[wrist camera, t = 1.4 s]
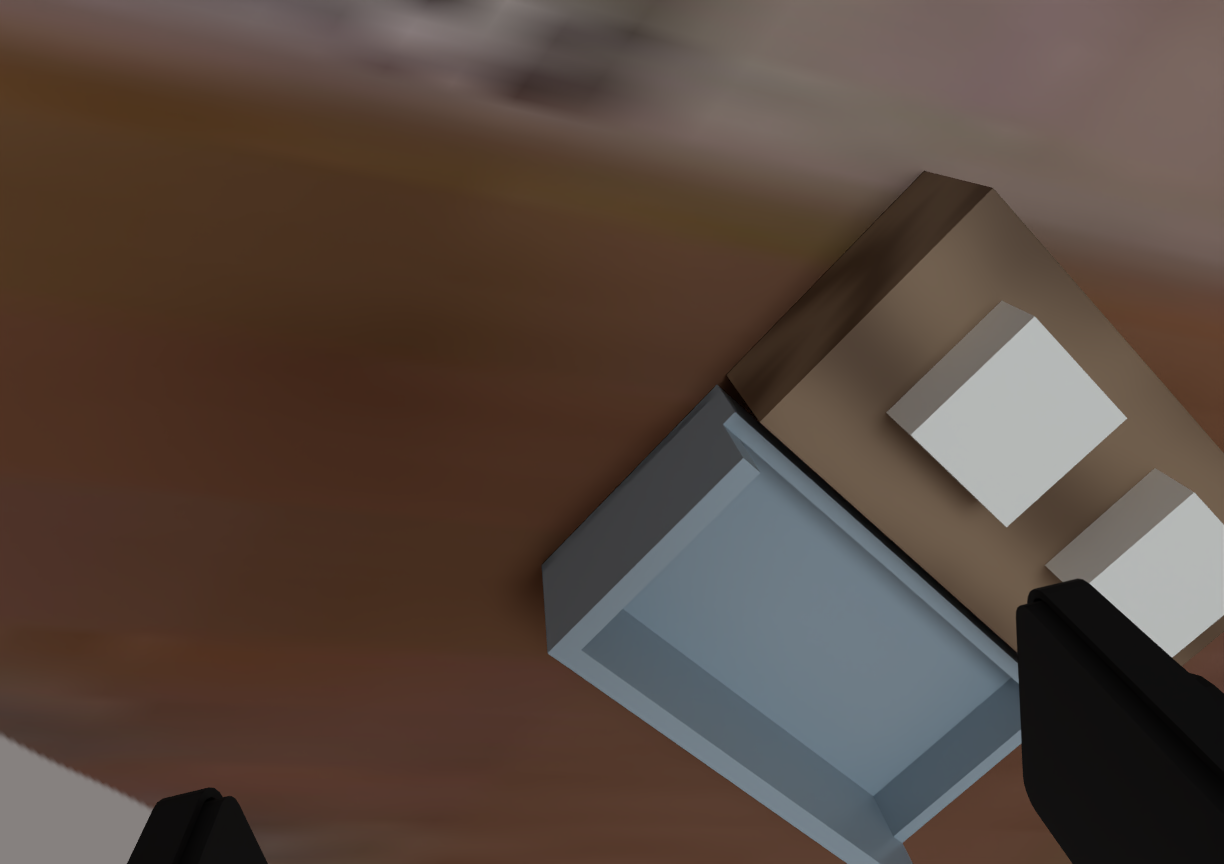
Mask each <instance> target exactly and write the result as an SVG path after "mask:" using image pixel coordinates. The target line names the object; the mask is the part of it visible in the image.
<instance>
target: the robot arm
mask: <svg viewBox="0 0 1224 864" xmlns="http://www.w3.org/2000/svg"><path fill="white" fill-rule="evenodd" d="M1016 635H1017V656H1018V678H1019V699H1020V721H1021V742H1022V764H1023V779H1024V785H1025V788H1026V792H1027V794H1028V797H1029V799H1030V801H1031V803H1032V806H1033V807H1034V809H1035V811H1036V812H1037V814H1038V815H1039V816H1040V818H1041V819H1042V821H1043V822H1044V824H1045V825H1046V826H1047V828H1048V829H1049V831H1050V832H1051V834H1052V835H1053V836H1054V838H1055V839H1056V841H1057V842H1058V844H1059V845H1060V846H1061V848H1062V849H1063V851H1064V852H1065V853H1066V855H1067V856H1068V858H1069V859H1070V861H1071V862H1072V863H1073V864H1224V693H1222V692H1221V691H1220V690H1219V689H1218V688H1217V687H1216V686H1214V685H1213V684H1212V683H1210V682H1209V681H1207V680H1206V679H1205V678H1203V677H1202V676H1198V675H1195V674H1192V673H1189V672H1187V671H1186V670H1185V669H1184V668H1183V667H1182V666H1181V665H1180V664H1178V663H1177V662H1176V661H1175V660H1174V659H1173V658H1172V657H1171V656H1170V655H1168V654H1167V653H1166V652H1165V651H1164V650H1163V649H1162V648H1161V647H1160V646H1158V645H1157V644H1156V643H1155V642H1154V641H1153V640H1152V639H1151V638H1150V637H1148V636H1147V635H1146V634H1145V633H1144V632H1143V631H1142V630H1141V629H1140V628H1138V627H1137V626H1136V625H1135V624H1134V623H1133V622H1132V621H1131V620H1130V619H1128V618H1127V617H1126V616H1125V615H1124V614H1123V613H1122V612H1121V611H1120V610H1118V609H1117V608H1116V607H1115V606H1114V605H1113V604H1112V603H1111V602H1110V601H1108V600H1107V599H1106V598H1105V597H1104V596H1103V595H1102V594H1101V593H1099V592H1098V591H1097V590H1096V589H1095V588H1094V587H1093V586H1092V585H1091V584H1089V583H1088V582H1086V581H1085V580H1083V579H1078V578H1077V579H1073V580H1069V581H1065V582H1061V583H1057V584H1052V585H1048V586H1044V587H1040V588H1036V589H1033V590H1031V591H1030V592H1029V595H1028V598H1027V604H1024V605H1020V606H1019V607H1017V610H1016ZM127 864H268V863H267V861H266V859H265V857H264V855H263V853H262V851H261V849H260V847H259V845H258V843H257V841H256V838H255V836H254V834H253V832H252V830H251V828H250V826H249V824H248V822H247V820H246V818H245V816H244V814H243V812H242V809H241V807H240V805H239V804H238V802H237V800H236V799H235V798H233V797H232V796H227V797H222V795H221V794H220V792H219V791H217V790H216V789H215V788H205V789H201V790H197V791H193V792H188V793H184V794H180V795H176V796H172V797H168V798H163V799H162V800H160V801H159V802H158V803H157V804H156V806H155V807H154V809H153V810H152V812H151V815H150V817H149V819H148V821H147V823H146V825H145V827H144V829H143V831H142V834H141V836H140V838H139V840H138V842H137V844H136V846H135V848H134V850H133V852H132V854H131V857H130V859H129V861H128V863H127Z"/></svg>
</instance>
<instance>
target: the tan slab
mask: <svg viewBox="0 0 1224 864" xmlns="http://www.w3.org/2000/svg"><path fill="white" fill-rule="evenodd" d="M1001 301H1003V302H1005V303H1008V304H1010V305H1012V306H1014V307H1016V308H1018V309H1020V310H1022V311H1025V312H1027V313H1029V314H1031V315H1033V316H1035V317H1036V318H1037V319H1038V320H1039V321H1040V323H1041V324H1042V325H1043V326H1044V327H1045V328H1046V329H1047V330H1048V331H1049V333H1050V334H1051V335H1052V336H1053V337H1054V338H1055V339H1056V340H1057V341H1058V342H1059V344H1060V345H1061V346H1062V347H1063V348H1064V349H1065V350H1066V351H1067V352H1068V353H1069V355H1070V356H1071V357H1072V358H1073V359H1074V360H1075V361H1076V362H1077V363H1078V365H1079V366H1080V367H1081V368H1082V369H1083V370H1084V371H1085V372H1086V373H1087V374H1088V376H1089V377H1090V378H1091V379H1092V380H1093V381H1094V382H1095V383H1096V384H1097V385H1098V387H1099V388H1100V389H1101V390H1102V391H1103V392H1104V393H1105V394H1106V395H1107V397H1108V398H1109V399H1110V400H1111V401H1112V402H1113V403H1114V404H1115V405H1116V406H1117V408H1118V409H1119V410H1120V411H1121V412H1122V413H1123V414H1124V415H1125V416H1126V417H1127V419H1126V420H1125V421H1124V422H1123V423H1122V424H1120V425H1119V426H1118V427H1117V428H1116V429H1115V430H1114V431H1113V432H1112V433H1111V434H1109V435H1108V436H1107V437H1106V438H1105V439H1104V440H1103V441H1102V442H1101V443H1099V444H1098V445H1097V446H1096V447H1095V448H1094V449H1093V450H1092V451H1091V452H1089V453H1088V454H1087V455H1086V456H1085V457H1084V458H1083V459H1082V460H1081V461H1080V462H1078V463H1077V464H1076V465H1075V466H1074V467H1073V468H1072V469H1071V470H1070V471H1068V472H1067V473H1066V474H1065V475H1064V476H1063V477H1062V478H1061V479H1060V480H1058V481H1057V482H1056V483H1055V484H1054V485H1053V486H1052V487H1051V488H1050V489H1048V490H1047V491H1046V492H1045V493H1044V494H1043V495H1042V496H1041V497H1040V498H1039V499H1037V500H1036V501H1035V502H1034V503H1033V504H1032V505H1031V506H1030V507H1029V508H1027V509H1026V510H1025V511H1024V512H1023V513H1022V514H1021V515H1020V516H1019V517H1017V518H1016V519H1015V520H1014V521H1013V522H1012V523H1011V524H1010V525H1009V526H1008V527H1006V526H1005V525H1003V524H1002V523H1001V522H1000V521H999V520H998V519H997V518H996V517H995V516H994V515H993V514H992V513H990V512H989V511H988V510H987V509H986V508H985V507H984V506H983V505H982V504H981V503H980V502H979V501H977V500H976V499H975V498H974V497H973V496H972V495H971V494H970V493H969V492H968V491H967V490H966V489H965V488H964V487H963V486H962V485H961V484H960V483H959V482H958V481H957V480H956V479H955V478H954V477H952V476H951V475H950V474H949V473H948V472H947V471H946V470H945V469H944V468H943V467H942V466H941V465H940V464H939V463H938V462H937V461H936V460H935V459H934V458H933V457H932V456H931V455H930V454H929V453H928V452H926V451H925V450H924V449H923V448H922V447H921V446H920V445H919V444H918V443H917V442H916V441H915V440H914V439H913V438H912V437H911V436H910V435H909V434H908V433H907V432H906V431H905V430H904V429H903V428H902V427H900V426H899V425H898V424H897V423H896V422H895V421H894V420H893V419H892V418H891V417H890V416H889V415H888V414H887V413H886V412H887V411H888V410H889V409H891V408H892V407H893V406H894V405H895V404H896V403H897V402H898V401H899V400H900V399H901V398H902V397H903V396H904V395H905V394H906V393H907V392H908V391H909V390H910V389H911V388H912V387H913V386H914V385H915V384H916V383H917V382H918V381H919V380H920V379H921V378H923V377H924V376H925V375H926V374H927V373H928V372H929V371H930V370H931V369H932V368H933V367H934V366H935V365H936V364H937V363H938V362H939V361H940V360H941V359H942V358H943V357H944V356H945V355H946V354H947V353H948V352H949V351H950V350H951V349H952V348H953V347H954V346H956V345H957V344H958V343H959V342H960V341H961V340H962V339H963V338H964V337H965V336H966V335H967V334H968V333H969V332H970V331H971V330H972V329H973V328H974V327H975V326H976V325H977V324H978V323H979V322H980V321H981V320H982V319H983V318H984V317H985V316H986V315H987V314H989V313H990V312H991V311H992V310H993V309H994V308H995V307H996V306H997V305H998V304H999V303H1000V302H1001ZM727 377H728V378H729V380H730V381H731V382H732V384H733V385H734V387H735V388H736V389H737V391H738V392H739V394H740V395H741V396H742V398H743V399H744V401H745V402H746V403H747V405H748V406H749V408H750V409H751V410H752V412H753V413H754V415H755V416H756V417H757V419H758V420H759V422H760V423H761V424H762V425H764V426H765V427H766V428H767V429H768V430H769V431H770V432H771V433H773V434H774V435H775V436H776V437H777V438H778V439H779V440H780V441H781V442H783V443H784V444H785V445H786V446H787V447H788V448H789V449H790V450H792V451H793V452H794V453H795V454H796V455H797V456H798V457H799V458H800V459H802V460H803V461H804V462H805V463H806V464H807V465H808V466H809V467H811V468H812V469H813V470H814V471H815V472H816V473H817V474H818V475H819V476H821V477H822V478H823V479H824V480H825V481H826V482H827V483H828V484H830V485H831V486H832V487H833V488H834V489H835V490H836V491H837V492H838V493H840V494H841V495H842V496H843V497H844V498H845V499H846V500H847V501H848V502H850V503H851V504H852V505H853V506H854V507H855V508H856V509H857V510H859V511H860V512H861V513H862V514H863V515H864V516H865V517H866V518H867V519H869V520H870V521H871V522H872V523H873V524H874V525H875V526H876V527H878V528H879V529H880V530H881V531H882V532H883V533H884V534H885V535H886V536H888V537H889V538H890V539H891V540H892V541H893V542H894V543H895V544H897V545H898V546H899V547H900V548H901V549H902V550H903V551H904V552H905V553H907V554H908V555H909V556H910V557H911V558H912V559H913V560H914V561H916V562H917V563H918V564H919V565H920V566H921V567H922V568H923V569H924V570H926V571H927V572H928V573H929V574H930V575H931V576H932V577H933V578H935V579H936V580H937V581H938V582H939V583H940V584H941V585H942V586H943V587H945V588H946V589H947V590H948V591H949V592H950V593H951V594H952V595H954V596H955V597H956V598H957V599H958V600H959V601H960V602H961V603H962V604H964V605H965V606H966V607H967V608H968V609H969V610H970V611H971V612H972V613H974V614H975V615H976V616H977V617H978V618H979V619H980V620H981V621H983V622H984V623H985V624H986V625H987V626H988V627H989V628H990V629H991V630H993V631H994V632H995V633H996V634H997V635H998V636H999V637H1000V638H1002V639H1003V640H1004V641H1005V642H1006V643H1007V644H1008V645H1009V646H1010V647H1012V648H1013V649H1014V650H1015V651H1016V652H1017V635H1016V610H1017V607H1019V606H1020V605H1024V604H1027V598H1028V595H1029V592H1030V591H1031V590H1033V589H1036V588H1040V587H1044V586H1048V585H1052V584H1057V583H1061V582H1062V581H1061V580H1060V579H1059V578H1057V577H1056V576H1055V575H1054V574H1053V573H1052V572H1051V571H1050V570H1049V569H1048V568H1047V567H1046V566H1045V565H1046V564H1047V563H1048V562H1049V561H1050V560H1051V559H1052V558H1054V557H1055V556H1056V555H1057V554H1058V553H1059V552H1060V551H1062V550H1063V549H1064V548H1065V547H1066V546H1067V545H1068V544H1069V543H1071V542H1072V541H1073V540H1074V539H1075V538H1076V537H1077V536H1079V535H1080V534H1081V533H1082V532H1083V531H1084V530H1085V529H1086V528H1088V527H1089V526H1090V525H1091V524H1092V523H1093V522H1094V521H1096V520H1097V519H1098V518H1099V517H1100V516H1101V515H1102V514H1103V513H1105V512H1106V511H1107V510H1108V509H1109V508H1110V507H1111V506H1113V505H1114V504H1115V503H1116V502H1117V501H1118V500H1119V499H1120V498H1122V497H1123V496H1124V495H1125V494H1126V493H1127V492H1128V491H1130V490H1131V489H1132V488H1133V487H1134V486H1135V485H1136V484H1137V483H1139V482H1140V481H1141V480H1142V479H1143V478H1144V477H1145V476H1147V475H1148V474H1149V473H1150V472H1151V471H1152V470H1153V469H1154V468H1156V469H1157V470H1159V471H1161V472H1162V473H1164V474H1165V475H1167V476H1169V477H1170V478H1172V479H1174V480H1175V481H1177V482H1178V483H1180V484H1182V485H1183V486H1185V487H1187V488H1188V489H1190V490H1191V491H1193V492H1194V493H1195V494H1196V495H1197V496H1198V497H1199V498H1200V499H1201V500H1202V501H1203V502H1204V504H1205V505H1206V506H1207V507H1208V508H1209V509H1210V510H1211V511H1212V512H1213V513H1214V515H1215V516H1216V517H1217V518H1218V519H1219V520H1220V521H1221V522H1222V523H1223V525H1224V453H1223V452H1222V451H1221V450H1220V449H1219V447H1218V446H1217V445H1216V444H1215V443H1214V442H1213V441H1212V439H1211V438H1210V437H1209V436H1208V435H1207V434H1206V433H1205V431H1204V430H1203V429H1202V428H1201V427H1200V426H1199V424H1198V423H1197V422H1196V421H1195V420H1194V419H1193V418H1192V416H1191V415H1190V414H1189V413H1188V412H1187V411H1186V410H1185V408H1184V407H1183V406H1182V405H1181V404H1180V403H1179V401H1178V400H1177V399H1176V398H1175V397H1174V396H1173V395H1172V393H1171V392H1170V391H1169V390H1168V389H1167V388H1166V386H1165V385H1164V384H1163V383H1162V382H1161V381H1160V380H1159V378H1158V377H1157V376H1156V375H1155V374H1154V373H1153V372H1152V370H1151V369H1150V368H1149V367H1148V366H1147V365H1146V363H1145V362H1144V361H1143V360H1142V359H1141V358H1140V357H1139V355H1138V354H1137V353H1136V352H1135V351H1134V350H1133V349H1132V347H1131V346H1130V345H1129V344H1128V343H1127V342H1126V340H1125V339H1124V338H1123V337H1122V336H1121V335H1120V334H1119V332H1118V331H1117V330H1116V329H1115V328H1114V327H1113V325H1112V324H1111V323H1110V322H1109V321H1108V320H1107V319H1106V317H1105V316H1104V315H1103V314H1102V313H1101V312H1100V311H1099V309H1098V308H1097V307H1096V306H1095V305H1094V304H1093V302H1092V301H1091V300H1090V299H1089V298H1088V297H1087V296H1086V294H1085V293H1084V292H1083V291H1082V290H1081V289H1080V288H1079V286H1078V285H1077V284H1076V283H1075V282H1074V281H1073V279H1072V278H1071V277H1070V276H1069V275H1068V274H1067V273H1066V271H1065V270H1064V269H1063V268H1062V267H1061V266H1060V264H1059V263H1058V262H1057V261H1056V260H1055V259H1054V258H1053V256H1052V255H1051V254H1050V253H1049V252H1048V251H1047V250H1046V248H1045V247H1044V246H1043V245H1042V244H1041V243H1040V241H1039V240H1038V239H1037V238H1036V237H1035V236H1034V235H1033V233H1032V232H1031V231H1030V230H1029V229H1028V228H1027V227H1026V225H1025V224H1024V223H1023V222H1022V221H1021V220H1020V218H1019V217H1018V216H1017V215H1016V214H1015V213H1014V212H1013V210H1012V209H1011V208H1010V207H1009V206H1008V205H1007V203H1006V202H1005V201H1004V200H1003V199H1002V198H1001V197H1000V195H999V194H998V193H997V192H996V191H995V190H994V189H993V188H991V187H987V186H983V185H979V184H975V183H971V182H967V181H963V180H959V179H955V178H951V177H947V176H942V175H938V174H934V173H930V172H926V171H924V172H923V173H922V174H921V175H920V176H919V177H918V178H917V179H916V180H915V181H914V182H913V183H912V184H911V185H910V186H909V187H908V188H907V189H906V190H905V192H904V193H903V194H902V195H901V196H900V197H899V198H898V199H897V200H896V201H895V202H894V203H893V204H892V205H891V206H890V207H889V208H888V209H887V210H886V211H885V212H884V213H883V214H882V215H881V216H880V217H879V218H878V219H877V220H876V221H875V222H874V223H873V224H872V225H871V227H870V228H869V229H868V230H867V231H866V232H865V233H864V234H863V235H862V236H861V237H860V238H859V239H858V240H857V241H856V242H855V243H854V244H853V245H852V246H851V247H850V248H849V249H848V250H847V251H846V252H845V253H844V254H843V255H842V256H841V257H840V258H839V259H838V261H837V262H836V263H835V264H834V265H833V266H832V267H831V268H830V269H829V270H828V271H827V272H826V273H825V274H824V275H823V276H822V277H821V278H820V279H819V280H818V281H817V282H816V283H815V284H814V285H813V286H812V287H811V288H810V289H809V290H808V291H807V292H806V293H805V294H804V296H803V297H802V298H801V299H800V300H799V301H798V302H797V303H796V304H795V305H794V306H793V307H792V308H791V309H790V310H789V311H788V312H787V313H786V314H785V315H784V316H783V317H782V318H781V319H780V320H779V321H778V322H777V323H776V324H775V325H774V326H773V327H772V328H771V329H770V331H769V332H768V333H767V334H766V335H765V336H764V337H763V338H762V339H761V340H760V341H759V342H758V343H757V344H756V345H755V346H754V347H753V348H752V349H751V350H750V351H749V352H748V353H747V354H746V355H745V356H744V357H743V358H742V359H741V360H740V361H739V362H738V363H737V364H736V366H735V367H734V368H733V369H732V370H731V371H730V372H729V373H728V374H727ZM1223 632H1224V615H1223V616H1222V617H1221V618H1220V619H1218V620H1217V621H1216V622H1215V623H1214V624H1212V625H1211V626H1210V627H1209V628H1207V629H1206V630H1205V631H1204V632H1203V633H1201V634H1200V635H1199V636H1198V637H1197V638H1195V639H1194V640H1193V641H1192V642H1191V643H1189V644H1188V645H1187V646H1186V647H1184V648H1183V649H1182V650H1181V651H1180V652H1178V653H1177V654H1176V655H1175V656H1174V657H1172V658H1173V659H1174V660H1175V661H1176V662H1177V663H1178V664H1180V665H1181V666H1182V665H1184V664H1185V663H1186V662H1187V661H1189V660H1190V659H1191V658H1192V657H1193V656H1195V655H1196V654H1197V653H1198V652H1200V651H1201V650H1202V649H1203V648H1204V647H1206V646H1207V645H1208V644H1209V643H1210V642H1212V641H1213V640H1214V639H1215V638H1217V637H1218V636H1219V635H1220V634H1221V633H1223Z"/></svg>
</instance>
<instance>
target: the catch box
mask: <svg viewBox="0 0 1224 864" xmlns="http://www.w3.org/2000/svg"><path fill="white" fill-rule="evenodd" d="M542 577H543V591H544V606H545V621H546V636H547V650H548V654H550V655H551V656H552V657H554V658H555V659H557V660H558V661H560V662H561V663H562V664H564V665H565V666H567V667H568V668H570V669H571V670H572V671H574V672H575V673H577V674H578V675H580V676H581V677H582V678H584V679H585V680H587V681H588V682H590V683H591V684H592V685H594V686H595V687H597V688H598V689H600V690H601V691H602V692H604V693H605V694H607V695H608V696H609V697H611V698H612V699H614V700H615V701H617V702H618V703H619V704H621V705H622V706H624V707H625V708H627V709H628V710H629V711H631V712H632V713H634V714H635V715H637V716H638V717H639V718H641V719H642V720H644V721H645V722H647V723H648V724H649V725H651V726H652V727H654V728H655V729H657V730H658V731H659V732H661V733H662V734H664V735H665V736H666V737H668V738H669V739H671V740H672V741H674V742H675V743H676V744H678V745H679V746H681V747H682V748H684V749H685V750H686V751H688V752H689V753H691V754H692V755H694V756H695V757H696V758H698V759H699V760H701V761H702V762H704V763H705V764H706V765H708V766H709V767H711V768H712V769H714V770H715V771H716V772H718V773H719V774H721V775H722V776H723V777H725V778H726V779H728V780H729V781H731V782H732V783H733V784H735V785H736V786H738V787H739V788H741V789H742V790H743V791H745V792H746V793H748V794H749V795H751V796H752V797H753V798H755V799H756V800H758V801H759V802H761V803H762V804H763V805H765V806H766V807H768V808H769V809H771V810H772V811H773V812H775V813H776V814H778V815H779V816H780V817H782V818H783V819H785V820H786V821H788V822H789V823H790V824H792V825H793V826H795V827H796V828H798V829H799V830H800V831H802V832H803V833H805V834H806V835H808V836H809V837H810V838H812V839H813V840H815V841H816V842H818V843H819V844H820V845H822V846H823V847H825V848H826V849H828V850H829V851H830V852H832V853H833V854H835V855H836V856H837V857H839V858H840V859H842V860H843V861H845V862H846V863H847V864H913V863H912V861H911V859H910V857H909V855H908V853H907V851H906V849H905V847H904V845H903V844H902V843H903V842H904V841H905V840H906V839H907V838H909V837H910V836H911V835H912V834H913V833H915V832H916V831H917V830H918V829H919V828H921V827H922V826H923V825H924V824H925V823H927V822H928V821H929V820H930V819H931V818H933V817H934V816H935V815H936V814H937V813H939V812H940V811H941V810H942V809H943V808H944V807H946V806H947V805H948V804H949V803H950V802H952V801H953V800H954V799H955V798H956V797H958V796H959V795H960V794H961V793H962V792H964V791H965V790H966V789H967V788H968V787H970V786H971V785H972V784H973V783H974V782H976V781H977V780H978V779H979V778H980V777H982V776H983V775H984V774H985V773H986V772H987V771H989V770H990V769H991V768H992V767H993V766H995V765H996V764H997V763H998V762H999V761H1001V760H1002V759H1003V758H1004V757H1005V756H1007V755H1008V754H1009V753H1010V752H1011V751H1013V750H1014V749H1015V748H1016V747H1017V746H1019V745H1020V744H1021V743H1022V742H1021V721H1020V699H1019V678H1018V656H1017V653H1016V652H1015V651H1014V650H1013V649H1012V648H1011V647H1010V646H1009V645H1007V644H1006V643H1005V642H1004V641H1003V640H1002V639H1001V638H1000V637H999V636H997V635H996V634H995V633H994V632H993V631H992V630H991V629H990V628H988V627H987V626H986V625H985V624H984V623H983V622H982V621H981V620H980V619H978V618H977V617H976V616H975V615H974V614H973V613H972V612H971V611H969V610H968V609H967V608H966V607H965V606H964V605H963V604H962V603H961V602H959V601H958V600H957V599H956V598H955V597H954V596H953V595H952V594H950V593H949V592H948V591H947V590H946V589H945V588H944V587H943V586H942V585H940V584H939V583H938V582H937V581H936V580H935V579H934V578H933V577H931V576H930V575H929V574H928V573H927V572H926V571H925V570H924V569H923V568H921V567H920V566H919V565H918V564H917V563H916V562H915V561H914V560H912V559H911V558H910V557H909V556H908V555H907V554H906V553H905V552H904V551H902V550H901V549H900V548H899V547H898V546H897V545H896V544H895V543H893V542H892V541H891V540H890V539H889V538H888V537H887V536H886V535H885V534H883V533H882V532H881V531H880V530H879V529H878V528H877V527H876V526H874V525H873V524H872V523H871V522H870V521H869V520H868V519H867V518H866V517H864V516H863V515H862V514H861V513H860V512H859V511H858V510H857V509H855V508H854V507H853V506H852V505H851V504H850V503H849V502H848V501H847V500H845V499H844V498H843V497H842V496H841V495H840V494H839V493H838V492H836V491H835V490H834V489H833V488H832V487H831V486H830V485H829V484H828V483H826V482H825V481H824V480H823V479H822V478H821V477H820V476H819V475H817V474H816V473H815V472H814V471H813V470H812V469H811V468H810V467H809V466H807V465H806V464H805V463H804V462H803V461H802V460H801V459H800V458H798V457H797V456H796V455H795V454H794V453H793V452H792V451H791V450H790V449H788V448H787V447H786V446H785V445H784V444H783V443H782V442H781V441H779V440H778V439H777V438H776V437H775V436H774V435H773V434H772V433H771V432H769V431H768V430H767V429H766V428H765V427H764V426H763V425H762V424H760V423H759V422H758V421H757V420H756V419H755V418H754V417H753V416H752V415H750V414H749V413H748V412H747V411H746V410H745V409H744V408H743V407H741V406H740V405H739V404H738V403H737V402H736V401H735V400H734V399H733V398H731V397H730V396H729V395H728V394H727V393H726V392H725V391H724V390H722V389H721V388H720V387H719V386H718V385H716V386H715V387H714V388H713V389H712V390H711V391H710V392H709V393H708V394H707V395H706V396H705V397H704V398H703V399H702V401H701V402H700V403H699V404H698V405H697V406H696V407H695V408H694V409H693V410H692V411H691V412H690V413H689V414H688V415H687V416H686V417H685V418H684V419H683V420H682V421H681V422H680V423H679V424H678V425H677V426H676V427H675V428H674V429H673V430H672V431H671V432H670V433H669V435H668V436H667V437H666V438H665V439H664V440H663V441H662V442H661V443H660V444H659V445H658V446H657V447H656V448H655V449H654V450H653V451H652V452H651V453H650V454H649V455H648V456H647V457H646V458H645V459H644V460H643V461H642V462H641V463H640V464H639V465H638V466H637V467H636V468H635V470H634V471H633V472H632V473H631V474H630V475H629V476H628V477H627V478H626V479H625V480H624V481H623V482H622V483H621V484H620V485H619V486H618V487H617V488H616V489H615V490H614V491H613V492H612V493H611V494H610V495H609V496H608V497H607V498H606V499H605V500H604V501H603V502H602V503H601V505H600V506H599V507H598V508H597V509H596V510H595V511H594V512H593V513H592V514H591V515H590V516H589V517H588V518H587V519H586V520H585V521H584V522H583V523H582V524H581V525H580V526H579V527H578V528H577V529H576V530H575V531H574V532H573V533H572V534H571V535H570V536H569V537H568V538H567V540H566V541H565V542H564V543H563V544H562V545H561V546H560V547H559V548H558V549H557V550H556V551H555V552H554V553H553V554H552V555H551V556H550V557H549V558H548V559H547V560H546V561H545V562H544V563H543V564H542Z"/></svg>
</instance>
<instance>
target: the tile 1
mask: <svg viewBox="0 0 1224 864" xmlns="http://www.w3.org/2000/svg"><path fill="white" fill-rule="evenodd" d="M886 413H887V414H888V415H889V416H890V417H891V418H892V419H893V420H894V421H895V422H896V423H897V424H898V425H899V426H900V427H902V428H903V429H904V430H905V431H906V432H907V433H908V434H909V435H910V436H911V437H912V438H913V439H914V440H915V441H916V442H917V443H918V444H919V445H920V446H921V447H922V448H923V449H924V450H925V451H926V452H928V453H929V454H930V455H931V456H932V457H933V458H934V459H935V460H936V461H937V462H938V463H939V464H940V465H941V466H942V467H943V468H944V469H945V470H946V471H947V472H948V473H949V474H950V475H951V476H952V477H954V478H955V479H956V480H957V481H958V482H959V483H960V484H961V485H962V486H963V487H964V488H965V489H966V490H967V491H968V492H969V493H970V494H971V495H972V496H973V497H974V498H975V499H976V500H977V501H979V502H980V503H981V504H982V505H983V506H984V507H985V508H986V509H987V510H988V511H989V512H990V513H992V514H993V515H994V516H995V517H996V518H997V519H998V520H999V521H1000V522H1001V523H1002V524H1003V525H1005V526H1006V527H1008V526H1009V525H1010V524H1011V523H1012V522H1013V521H1014V520H1015V519H1016V518H1017V517H1019V516H1020V515H1021V514H1022V513H1023V512H1024V511H1025V510H1026V509H1027V508H1029V507H1030V506H1031V505H1032V504H1033V503H1034V502H1035V501H1036V500H1037V499H1039V498H1040V497H1041V496H1042V495H1043V494H1044V493H1045V492H1046V491H1047V490H1048V489H1050V488H1051V487H1052V486H1053V485H1054V484H1055V483H1056V482H1057V481H1058V480H1060V479H1061V478H1062V477H1063V476H1064V475H1065V474H1066V473H1067V472H1068V471H1070V470H1071V469H1072V468H1073V467H1074V466H1075V465H1076V464H1077V463H1078V462H1080V461H1081V460H1082V459H1083V458H1084V457H1085V456H1086V455H1087V454H1088V453H1089V452H1091V451H1092V450H1093V449H1094V448H1095V447H1096V446H1097V445H1098V444H1099V443H1101V442H1102V441H1103V440H1104V439H1105V438H1106V437H1107V436H1108V435H1109V434H1111V433H1112V432H1113V431H1114V430H1115V429H1116V428H1117V427H1118V426H1119V425H1120V424H1122V423H1123V422H1124V421H1125V420H1126V419H1127V417H1126V416H1125V415H1124V414H1123V413H1122V412H1121V411H1120V410H1119V409H1118V408H1117V406H1116V405H1115V404H1114V403H1113V402H1112V401H1111V400H1110V399H1109V398H1108V397H1107V395H1106V394H1105V393H1104V392H1103V391H1102V390H1101V389H1100V388H1099V387H1098V385H1097V384H1096V383H1095V382H1094V381H1093V380H1092V379H1091V378H1090V377H1089V376H1088V374H1087V373H1086V372H1085V371H1084V370H1083V369H1082V368H1081V367H1080V366H1079V365H1078V363H1077V362H1076V361H1075V360H1074V359H1073V358H1072V357H1071V356H1070V355H1069V353H1068V352H1067V351H1066V350H1065V349H1064V348H1063V347H1062V346H1061V345H1060V344H1059V342H1058V341H1057V340H1056V339H1055V338H1054V337H1053V336H1052V335H1051V334H1050V333H1049V331H1048V330H1047V329H1046V328H1045V327H1044V326H1043V325H1042V324H1041V323H1040V321H1039V320H1038V319H1037V318H1036V317H1035V316H1033V315H1031V314H1029V313H1027V312H1025V311H1022V310H1020V309H1018V308H1016V307H1014V306H1012V305H1010V304H1008V303H1005V302H1003V301H1001V302H1000V303H999V304H998V305H997V306H996V307H995V308H994V309H993V310H992V311H991V312H990V313H989V314H987V315H986V316H985V317H984V318H983V319H982V320H981V321H980V322H979V323H978V324H977V325H976V326H975V327H974V328H973V329H972V330H971V331H970V332H969V333H968V334H967V335H966V336H965V337H964V338H963V339H962V340H961V341H960V342H959V343H958V344H957V345H956V346H954V347H953V348H952V349H951V350H950V351H949V352H948V353H947V354H946V355H945V356H944V357H943V358H942V359H941V360H940V361H939V362H938V363H937V364H936V365H935V366H934V367H933V368H932V369H931V370H930V371H929V372H928V373H927V374H926V375H925V376H924V377H923V378H921V379H920V380H919V381H918V382H917V383H916V384H915V385H914V386H913V387H912V388H911V389H910V390H909V391H908V392H907V393H906V394H905V395H904V396H903V397H902V398H901V399H900V400H899V401H898V402H897V403H896V404H895V405H894V406H893V407H892V408H891V409H889V410H888V411H887V412H886Z"/></svg>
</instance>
